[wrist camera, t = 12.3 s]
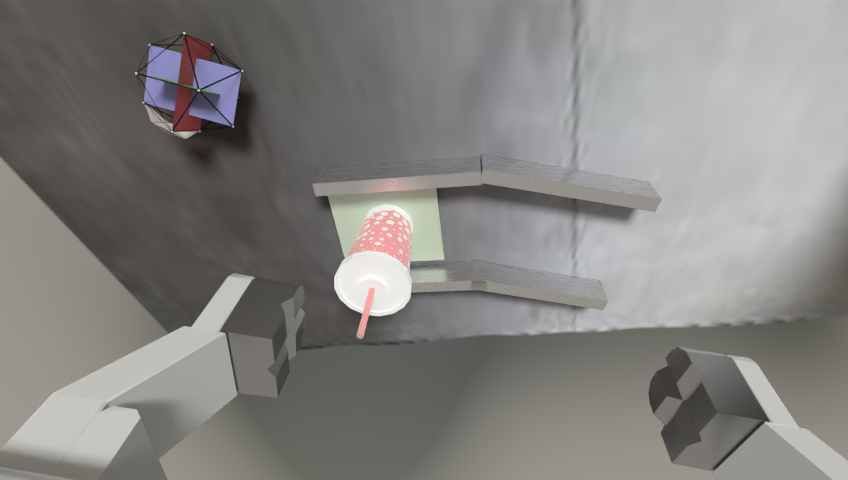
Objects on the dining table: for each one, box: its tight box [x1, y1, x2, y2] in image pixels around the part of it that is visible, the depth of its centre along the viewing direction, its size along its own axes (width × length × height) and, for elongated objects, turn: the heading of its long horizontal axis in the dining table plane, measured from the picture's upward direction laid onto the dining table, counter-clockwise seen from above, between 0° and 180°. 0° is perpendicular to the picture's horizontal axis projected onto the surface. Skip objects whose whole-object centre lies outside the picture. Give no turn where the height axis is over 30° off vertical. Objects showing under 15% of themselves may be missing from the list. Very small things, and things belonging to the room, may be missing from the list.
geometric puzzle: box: [135, 32, 243, 139], centre depth 32 cm, size 7×7×8 cm
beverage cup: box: [334, 205, 413, 339], centre depth 36 cm, size 6×6×14 cm
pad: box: [328, 188, 444, 261], centre depth 42 cm, size 10×9×1 cm
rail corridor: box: [312, 154, 662, 310], centre depth 40 cm, size 28×16×3 cm, turn 82°
